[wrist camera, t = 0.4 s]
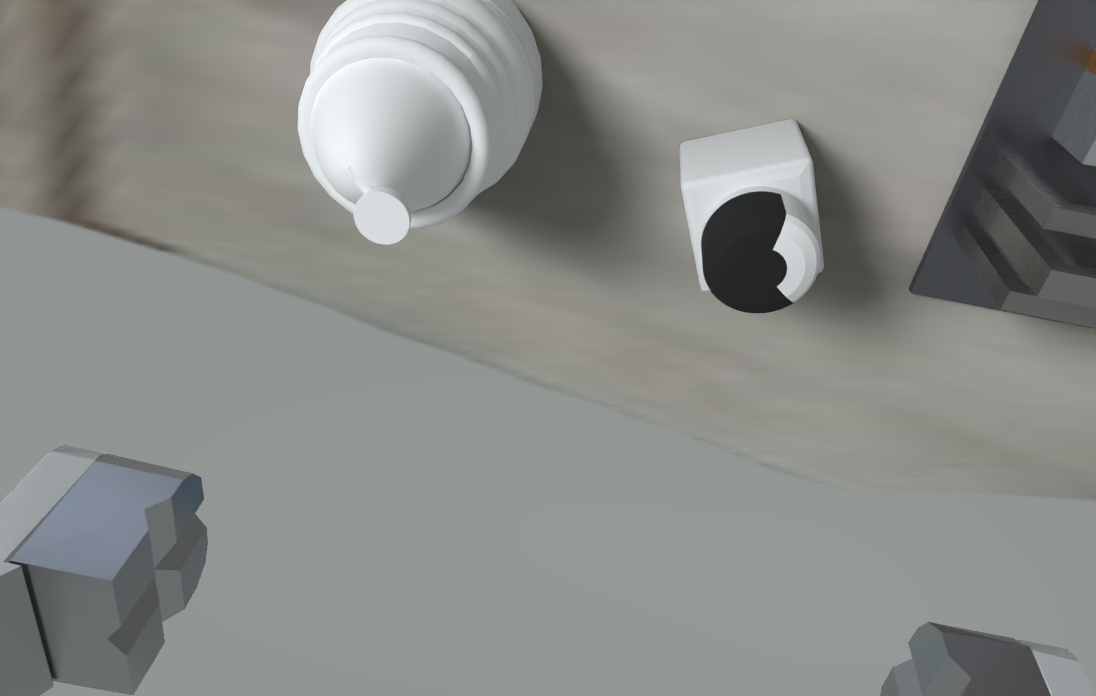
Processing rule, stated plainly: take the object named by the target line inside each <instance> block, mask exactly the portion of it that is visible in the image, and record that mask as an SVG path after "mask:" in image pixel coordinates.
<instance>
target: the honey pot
mask: <svg viewBox="0 0 1096 696" xmlns="http://www.w3.org/2000/svg"><path fill="white" fill-rule="evenodd" d="M542 87H543V81H542V67H541V57H540V54H539V51H538V48H537V45H536V42H535V39H534V36H533V33H532V30H531V28H530V27H529V25H528V23H527V22H526V20H525V19H524V17H523V16H522V14H521V13H520V11H519V9H518V8H517V6H516V5H515V4H514V3H513V2H512V1H511V0H347V1H345V2H344V3H343V4H342V5H340V6H339V7H338V8H337V9H336V10H335V12H334V13H333V15H332V16H331V18H330V19H329V21H328V22H327V24H326V25H325V27H324V28H323V29H322V31H321V33H320V35H319V38H318V41H317V44H316V47H315V51H314V54H313V57H312V60H311V69H310V76H309V77H308V79H307V80H306V83H305V86H304V89H303V92H302V96H301V99H300V102H299V108H298V132H299V137H300V141H301V145H302V150H303V154H304V156H305V158H306V160H307V162H308V164H309V166H310V168H311V170H312V172H313V174H314V176H315V178H316V179H317V180H318V181H319V183H320V184H321V185H322V186H323V187H324V189H325V190H326V191H327V192H328V194H329V195H330V196H331V197H332V198H333V199H334V200H336V201H337V202H338V203H340V204H341V205H342V206H343V207H345V208H346V209H347V210H348V211H350V212H351V213H353V214H354V220H355V224H356V226H357V228H358V229H359V231H360V232H361V233H362V234H363V235H364V236H365V237H366V238H367V239H369V240H371V241H373V242H375V243H379V244H393V243H396V242H398V241H400V240H401V239H402V238H403V237H404V236H405V235H406V233H407V232H408V230H409V229H422V228H425V227H429V226H432V225H436V224H439V223H443V222H445V221H446V220H448V219H450V218H451V217H453V216H454V215H456V214H458V213H459V212H461V211H463V210H464V209H465V208H466V206H467V205H468V204H469V203H470V202H471V201H472V200H473V199H474V198H475V196H476V195H477V194H479V193H481V192H482V191H484V190H485V189H487V188H489V187H490V186H492V185H494V184H495V183H496V182H498V181H499V179H500V178H501V177H502V176H503V175H504V174H505V173H506V172H507V171H508V170H509V168H510V167H511V166H512V165H513V164H514V163H515V162H516V160H517V158H518V156H519V153H520V151H521V149H522V147H523V145H524V143H525V141H526V139H527V137H528V134H529V132H530V130H531V127H532V125H533V122H534V120H535V118H536V115H537V113H538V108H539V103H540V98H541V92H542Z"/></svg>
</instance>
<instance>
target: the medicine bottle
mask: <svg viewBox="0 0 1096 696" xmlns="http://www.w3.org/2000/svg"><path fill="white" fill-rule="evenodd" d="M680 172H681V190H682V196H683V201H684V206H685V211H686V216H687V221H688V227H689V232H690V237H691V242H692V247H693V252H694V258H695V263H696V268H697V273H698V278H699V283H700V288H701V289H702V291H704V292H712V293H713V294H714V296H715V297H716V298H717V299H719V300H720V301H721V302H722V303H724V304H725V305H727V306H729V307H731V308H733V309H736V310H739V311H742V312H748V313H767V312H773V311H776V310H780V309H782V308H785V307H787V306H789V305H791V304H792V303H794V302H796V301H797V300H798V299H800V298H801V297H802V296H803V295H804V294H805V293H806V292H807V291H808V290H809V289H810V287H811V286H812V284H813V283H814V281H815V279H816V277H817V275H818V273H820V272H822V271H823V269H824V260H823V251H822V242H821V232H820V223H819V214H818V205H817V195H816V186H815V177H814V168H813V161H812V158H811V156H810V153H809V151H808V148H807V146H806V143H805V141H804V138H803V136H802V133H801V131H800V128H799V126H798V123H797V121H796V120H794V119H788V120H784V121H779V122H774V123H770V124H765V125H760V126H756V127H751V128H746V129H741V130H737V131H732V132H727V133H723V134H718V135H713V136H708V137H704V138H699V139H694V140H690V141H685V142H683V143H682V144H681V145H680Z"/></svg>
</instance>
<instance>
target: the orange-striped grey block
mask: <svg viewBox="0 0 1096 696" xmlns="http://www.w3.org/2000/svg"><path fill="white" fill-rule="evenodd" d="M1085 68H1086V69H1085V71H1084V73H1083V75H1082V77H1081V79H1080V81H1079V83H1078V85H1077V87H1076V89H1075V91H1074V93H1073V95H1072V97H1071V99H1070V101H1069V103H1068V105H1067V107H1066V109H1065V111H1064V113H1063V115H1062V117H1061V119H1060V121H1059V123H1058V125H1057V127H1056V129H1055V131H1054V133H1053V135H1052V137H1053V138H1054V139H1055V140H1056V141H1057V142H1058V143H1059V144H1060V145H1062V146H1063V147H1064V148H1065V149H1066V150H1067V151H1068V152H1069V153H1071V154H1072V155H1073V156H1074V157H1075V158H1076V159H1077V160H1078V161H1080V162H1081V163H1082V164H1086V165H1091V166H1096V49H1095V50H1094V51H1093V53H1092V55H1091V57H1090V59H1089V61H1088V63H1087V65H1086V67H1085Z"/></svg>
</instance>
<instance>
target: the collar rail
mask: <svg viewBox="0 0 1096 696" xmlns="http://www.w3.org/2000/svg"><path fill="white" fill-rule="evenodd" d="M1095 49H1096V0H1039V1H1038V3H1037V5H1036V7H1035V9H1034V12H1033V14H1032V16H1031V18H1030V21H1029V23H1028V25H1027V27H1026V29H1025V32H1024V34H1023V36H1022V38H1021V41H1020V43H1019V45H1018V47H1017V49H1016V52H1015V54H1014V56H1013V58H1012V60H1011V63H1010V65H1009V67H1008V69H1007V72H1006V74H1005V76H1004V78H1003V80H1002V83H1001V85H1000V87H999V89H998V92H997V94H996V96H995V98H994V100H993V103H992V105H991V107H990V109H989V112H988V114H987V116H986V118H985V120H984V123H983V125H982V127H981V129H980V131H979V134H978V136H977V138H976V140H975V143H974V145H973V147H972V149H971V151H970V154H969V156H968V158H967V160H966V163H965V165H964V167H963V169H962V171H961V174H960V176H959V178H958V180H957V183H956V185H955V187H954V189H953V191H952V194H951V196H950V198H949V200H948V202H947V205H946V207H945V209H944V211H943V214H942V216H941V218H940V220H939V222H938V225H937V227H936V229H935V231H934V234H933V236H932V238H931V240H930V242H929V245H928V247H927V249H926V251H925V253H924V256H923V258H922V260H921V262H920V265H919V267H918V269H917V271H916V273H915V276H914V278H913V280H912V282H911V285H910V287H909V290H910V292H911V293H914V294H920V295H925V296H930V297H935V298H940V299H945V300H950V301H955V302H961V303H966V304H971V305H976V306H981V307H986V308H991V309H997V310H1002V311H1007V312H1012V313H1017V314H1022V315H1027V316H1032V317H1038V318H1043V319H1048V320H1053V321H1058V322H1063V323H1068V324H1073V325H1079V326H1084V327H1089V328H1091V327H1092V328H1096V166H1091V165H1086V164H1082V163H1081V162H1080V161H1078V160H1077V159H1076V158H1075V157H1074V156H1073V155H1072V154H1071V153H1069V152H1068V151H1067V150H1066V149H1065V148H1064V147H1063V146H1062V145H1060V144H1059V143H1058V142H1057V141H1056V140H1055V139H1054V138H1053V137H1052V135H1053V133H1054V131H1055V129H1056V127H1057V125H1058V123H1059V121H1060V119H1061V117H1062V115H1063V113H1064V111H1065V109H1066V107H1067V105H1068V103H1069V101H1070V99H1071V97H1072V95H1073V93H1074V91H1075V89H1076V87H1077V85H1078V83H1079V81H1080V79H1081V77H1082V75H1083V73H1084V71H1085V69H1086V68H1085V67H1086V65H1087V63H1088V61H1089V59H1090V57H1091V55H1092V53H1093V51H1094V50H1095Z"/></svg>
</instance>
